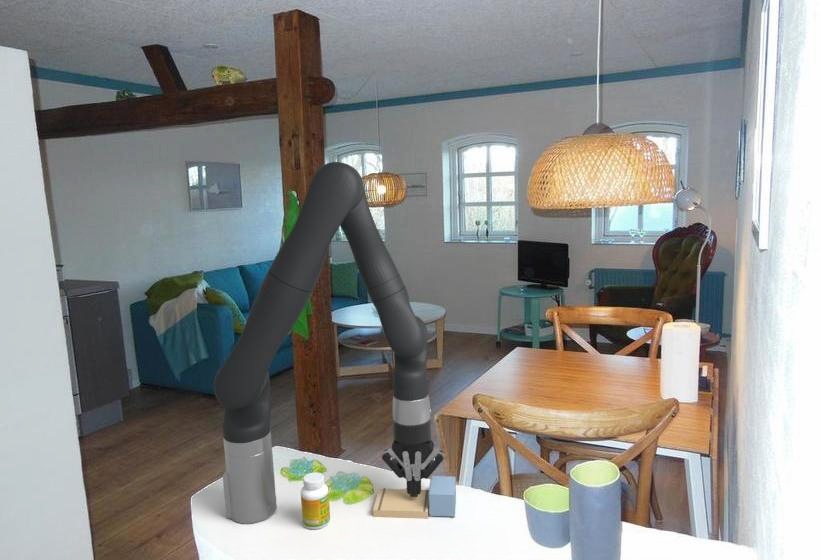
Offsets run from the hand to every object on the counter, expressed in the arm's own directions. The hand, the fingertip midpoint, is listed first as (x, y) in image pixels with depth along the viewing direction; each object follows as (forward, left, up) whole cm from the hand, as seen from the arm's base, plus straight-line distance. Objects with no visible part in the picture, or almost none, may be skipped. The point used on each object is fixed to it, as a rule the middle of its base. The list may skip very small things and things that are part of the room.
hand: (414, 494), depth 122 cm
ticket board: (-3, 0, -3) cm, 4 cm away
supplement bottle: (-19, -7, -3) cm, 20 cm away
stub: (+6, 0, -2) cm, 6 cm away
